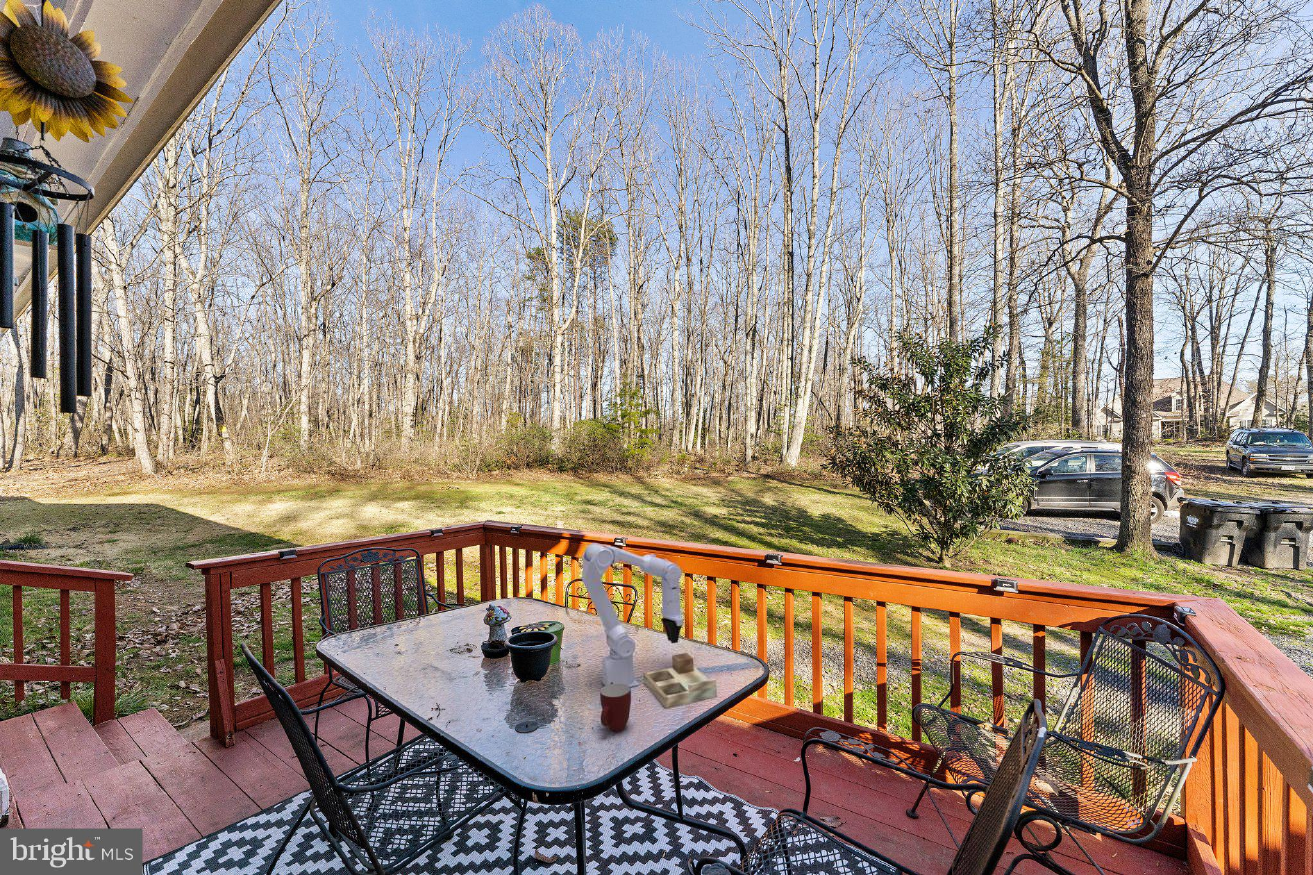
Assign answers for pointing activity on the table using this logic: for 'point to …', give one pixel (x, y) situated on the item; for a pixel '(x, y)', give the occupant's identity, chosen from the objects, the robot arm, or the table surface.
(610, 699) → the mug
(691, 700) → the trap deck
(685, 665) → the walnut block
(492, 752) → the table surface
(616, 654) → the robot arm
